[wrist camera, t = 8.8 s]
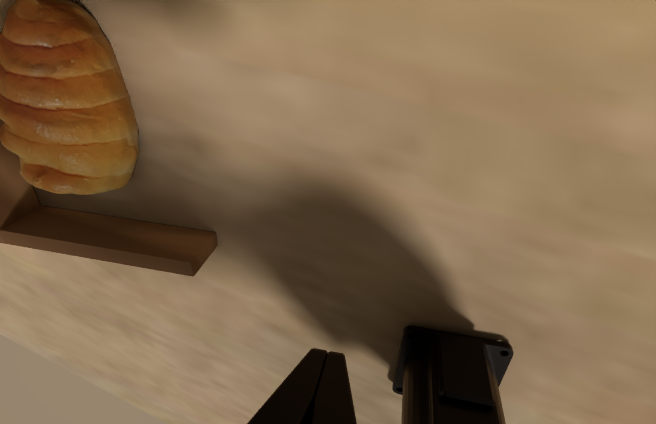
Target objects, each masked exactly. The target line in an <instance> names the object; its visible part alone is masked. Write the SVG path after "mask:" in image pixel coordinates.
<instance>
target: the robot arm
mask: <svg viewBox="0 0 656 424" xmlns="http://www.w3.org/2000/svg"><path fill="white" fill-rule="evenodd" d="M512 356H513V349H512V347H511V345H510V344H508V343H505V342H500V341H494V340H488V339H483V338H477V337H472V336H466V335H460V334H455V333H449V332H444V331H438V330H433V329H427V328H421V327H416V326H407V327H406V328H405V329H404V332H403V337H402V342H401V347H400V351H399V356H398V361H397V366H396V371H395V375H394V380H393V391H394V392H395V393H397V394H401V395H403V398H402V424H506V423H505V418H504V413H503V408H502V403H501V398H500V393H499V388H498V387H499V385H500V383H501V381H502V379H503V376H504V374H505V372H506V370H507V367H508V365H509V363H510V361H511V359H512ZM247 424H357V423H356V417H355V411H354V405H353V400H352V394H351V388H350V383H349V377H348V371H347V366H346V360H345V355H344V354H343V353H338V352H332V351H330V352H329V353H328V352H327V351H326V350H321V349H316V348H313V349H311V350H310V351H309V352H308V353H307V354H306V356H305V357H304V358H303V359H302V360H301V361H300V363H299V364H298V365H297V366H296V367H295V368H294V370H293V371H292V372H291V373H290V374H289V375H288V377H287V378H286V379H285V380H284V381H283V382H282V384H281V385H280V386H279V387H278V388H277V389H276V391H275V392H274V393H273V394H272V395H271V396H270V398H269V399H268V400H267V401H266V402H265V403H264V405H263V406H262V407H261V408H260V409H259V410H258V412H257V413H256V414H255V415H254V416H253V417H252V419H251V420H250V421H249V422H248V423H247Z"/></svg>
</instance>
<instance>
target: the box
mask: <svg viewBox="0 0 656 424" xmlns="http://www.w3.org/2000/svg"><path fill="white" fill-rule="evenodd" d="M3 123H4V121H3V120H2V119H0V129H1V126H2V125H3ZM20 169H21V166H20V157H19V156H18V155H17V154H15V153H13V152H11V151H10V150H8V149H6V148H5V147H4V146H3V145H2V143H1V140H0V243H5V244H11V245H16V246H22V247H28V248H33V249H39V250H45V251H51V252H56V253H62V254H68V255H73V256H79V257H85V258H91V259H96V260H102V261H108V262H114V263H119V264H125V265H131V266H136V267H142V268H148V269H154V270H159V271H165V272H171V273H176V274H182V275H188V276H194V275H195V274H196V273H197V271H198V270H199V269H200V268H201V266H202V265H203V264H204V262H205V261H206V260H207V258H208V257H209V256H210V255H211V253H212V252H213V251H214V249H215V248H216V247H217V239H216V233H215V232H209V231H202V230H196V229H189V228H183V227H176V226H170V225H163V224H157V223H150V222H144V221H137V220H131V219H124V218H118V217H111V216H105V215H98V214H92V213H85V212H79V211H72V210H66V209H59V208H53V207H46V206H41V205H40V202H39V200H38V198H37V195H36V193H35V191H34V188H33V186H32V184H30V183H28V182H27V181H26V180H25V179H24V178H23V177H22V175H21V174H20Z"/></svg>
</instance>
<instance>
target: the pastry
mask: <svg viewBox="0 0 656 424" xmlns="http://www.w3.org/2000/svg"><path fill="white" fill-rule="evenodd" d="M0 119H2V120H3V121H4V123H3V125H2V126H1V129H0V140H1V143H2V145H3V146H4V147H5V148H6V149H8V150H10V151H11V152H13V153H15V154H17V155H18V156H19V157H20V166H21V169H20V174H21V175H22V177H23V178H24V179H25V180H26V181H27V182H28V183H30V184H32V185H33V186H35V187H37V188H40V189H43V190H46V191H49V192H53V193H56V194H67V193H74V194H78V195H86V194H96V193H102V192H107V191H110V190H114V189H118V188H122V187H124V186H125V185H126V184H127V183H128V181H129V179H130V177H131V175H132V172H133V169H134V166H135V163H136V160H137V158H138V155H139V147H138V134H139V130H138V126H137V123H136V119H135V115H134V110H133V108H132V106H131V100H130V96H129V94H128V91H127V89H126V86H125V83H124V80H123V77H122V73H121V70H120V67H119V65H118V62H117V59H116V56H115V54H114V51H113V48H112V46H111V44H110V42H109V41H108V40H107V38H106V37H105V36H104V34H103V33H102V31H101V29H100V27H99V26H98V24H97V22H96V20H95V19H94V18H93V17H92V16H91V15H90V14H89V13H88V12H87V11H85V10H84V9H83V8H82V7H81V6H79V5H78V4H76V3H73V2H71V1H67V0H16V1H15V4H14V5H12V6H11V7H10V8H8V12H7V16H6V19H5V22H4V27H3V30H2V32H1V33H0Z"/></svg>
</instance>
